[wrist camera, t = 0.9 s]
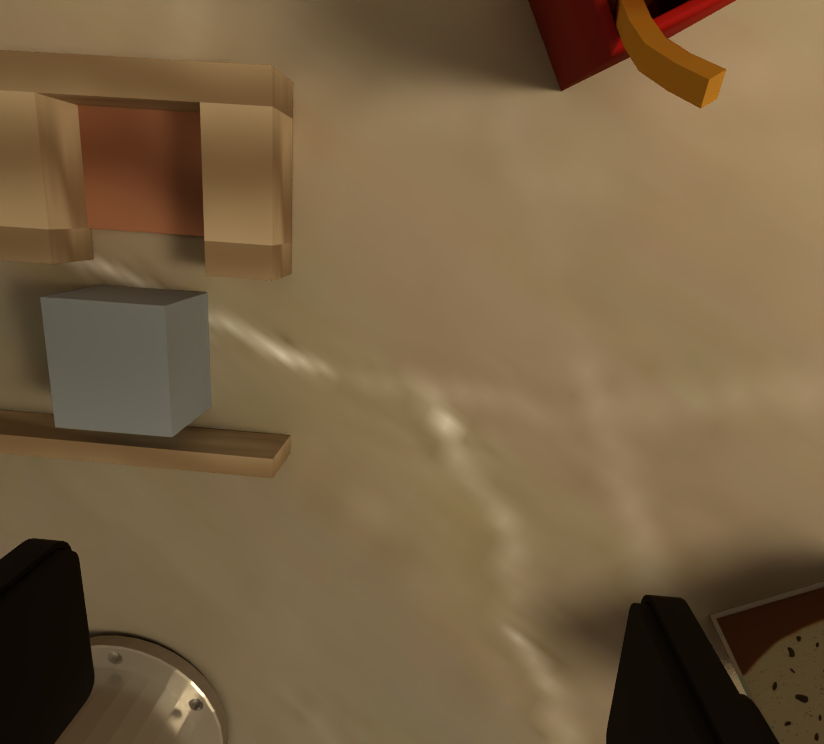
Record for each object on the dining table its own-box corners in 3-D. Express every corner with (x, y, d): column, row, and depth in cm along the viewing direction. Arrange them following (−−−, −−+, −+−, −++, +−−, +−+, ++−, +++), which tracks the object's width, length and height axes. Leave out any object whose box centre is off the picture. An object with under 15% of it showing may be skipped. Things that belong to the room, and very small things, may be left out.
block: (212, 405, 30) (172, 437, 26) (112, 397, 30) (55, 427, 26) (208, 292, 28) (164, 306, 24) (102, 284, 29) (40, 297, 24)
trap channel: (289, 453, 30) (269, 483, 27) (-170, 411, 31) (-247, 435, 28) (292, 82, 25) (267, 61, 22) (-252, 51, 27) (-358, 26, 23)
